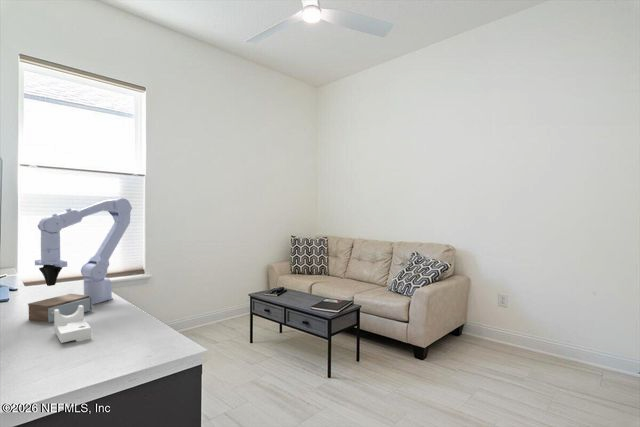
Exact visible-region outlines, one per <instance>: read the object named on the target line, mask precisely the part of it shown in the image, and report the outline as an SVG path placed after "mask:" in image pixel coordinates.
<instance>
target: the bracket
mask: <svg viewBox="0 0 640 427" xmlns="http://www.w3.org/2000/svg"><path fill="white" fill-rule="evenodd" d="M84 313H85V312H84V307H83V306H82V305H79V306H78V309H77V311H76V312H75V313H73V314H72V315H68V316H64V315H62V314H60V312H59V310H58V309H55V310H54V321H53V322H54V323H53V324H54V334H56V336H57V338H58V340H59V342H60V343H61V344H62V343H67V342H71V341H75V342H83V341H86V340H91V339H92V327H91V326H90V324H89V323H88V322H87V321H86V320H85V317H84V316H85V314H84Z"/></svg>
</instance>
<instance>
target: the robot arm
mask: <svg viewBox="0 0 640 427" xmlns="http://www.w3.org/2000/svg"><path fill="white" fill-rule="evenodd" d="M132 209H133V207H132V204H131V203H130V201H129V200H128V199H127V198H123V197H122V198H109V199H104V200H102V201H98V202H95V203H94V204H90V205H89V206H87V207H86V206H85V207H84V208H80V209H76V208H71V207H70V208H66V209H65V211H62V212H60V213H52V215H51V216H50V217H49V216H48V217H47V216H46V217H44V218H41V219H40V220H39V222H38V224H37V228H38V230H39V231H40V259H36V260H34V266H42V267H39V268H38V270H39V272H41V274H42V276H43V277H44V280H45V283H46V286H47V287H52V286H56V283H57V280H58V277H59V274H60V272H61V271H62V269H63V268H66V267H68V261H67V260H66V261H65V260H62V259H61V231H62V230H63V229H65V228H68V227H71V226H73V225H76V224H78V223H81V222H82V220H83V218H85V217H88V216H90V215H91V216H92V215H93V214H94V215H95V214H98V213H100V212H103V211H104V212H108V213H109V214H110V215H111V216H112V218H113V224H112V226H111V228H110V230H109V231H108V233H107V235H106V236H105V238H104V240H102V242H101V245H100V246H99V248H98V249H97V251H96V253H95V254H94V255H93V256H92V257H90V258H89V260H88V261H87V262H86V263H84V264H83V265H82V266H81V269H80V274H81V276H82V277H83V295H87V296H89V298H91V305H96V304H100V303H102V302H106V301H109V300H113V299H114V297H113V292H112V291H113V290H112V288H113V287H112V286H113V284H112V281H111V279H110V278H108V277H107V274H108V270H109V266H110V261H109V260H110V258H111V257H112V254H113V253H114V251H115V250H116V248H117V246H118V245H119V243H120V240H121V239H122V237H123V236H124V234H125V232H127V231H126V230H127V229H128V227H129V225H130V224H131V211H132Z"/></svg>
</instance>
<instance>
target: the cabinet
mask: <svg viewBox="0 0 640 427" xmlns="http://www.w3.org/2000/svg"><path fill="white" fill-rule="evenodd" d="M87 298H89V296H87V295H84V294H79V293H66V294H63V295H58V296H55V297H50V298H46V299H41V300H38V301H32V302H29V303H27V306H28V320H30V321H36V322H42V323H48V324H49V323H51V322H48V308H51V307H55V306H59V305H63V304H67V303H71V302H75V301H79V300H83V299H87Z"/></svg>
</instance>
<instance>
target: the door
mask: <svg viewBox="0 0 640 427" xmlns="http://www.w3.org/2000/svg"><path fill="white" fill-rule="evenodd" d="M79 305H82V306H83V307H84V313H86V312H90V311H92V304H91V298H87V299H83V300H79V301H75V302H71V303H67V304H63V305H59V306H55V307H51V308H48V322H50V323H53V322H54V310H55V309H58V310H59V312H60V314H62V315H64V316H68V315H72V314H73V313H75V312H76V311H77V309H78V306H79ZM48 322H47V323H48Z"/></svg>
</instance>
